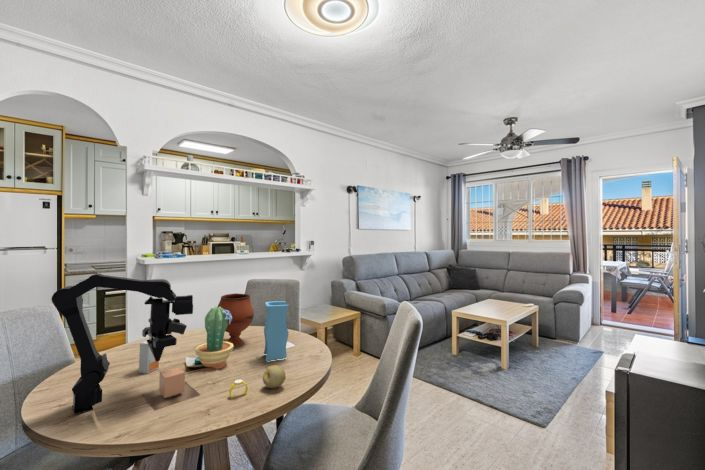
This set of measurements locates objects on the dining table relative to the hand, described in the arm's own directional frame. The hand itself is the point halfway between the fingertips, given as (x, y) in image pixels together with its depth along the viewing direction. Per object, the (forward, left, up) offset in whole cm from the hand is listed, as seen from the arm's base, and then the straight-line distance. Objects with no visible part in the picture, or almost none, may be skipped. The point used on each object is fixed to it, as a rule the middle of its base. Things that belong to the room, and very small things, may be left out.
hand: (157, 360), depth 110 cm
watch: (+19, -22, -12) cm, 31 cm away
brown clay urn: (+44, +31, -12) cm, 55 cm away
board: (+3, -6, -12) cm, 13 cm away
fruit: (+32, -24, -12) cm, 42 cm away
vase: (+49, +1, -12) cm, 50 cm away
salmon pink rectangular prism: (+3, -6, -10) cm, 12 cm away
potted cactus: (+25, +11, -12) cm, 30 cm away
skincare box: (+4, +24, -12) cm, 27 cm away
